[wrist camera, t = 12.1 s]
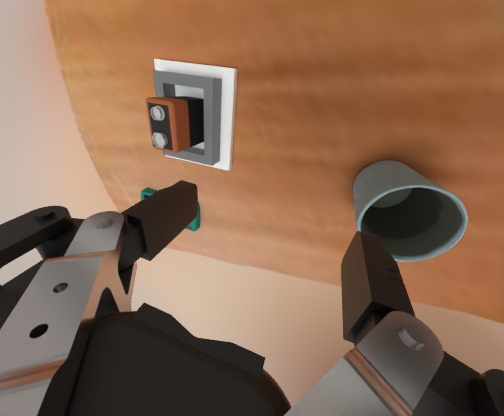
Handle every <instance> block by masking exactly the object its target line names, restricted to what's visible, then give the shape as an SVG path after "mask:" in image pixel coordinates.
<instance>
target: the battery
mask: <svg viewBox="0 0 504 416" xmlns="http://www.w3.org/2000/svg"><path fill="white" fill-rule="evenodd" d="M146 105H147V112H148V118H149V125H150V131H151V138H152V144H153V147H154V148H155V149H159V150H164V151H168V152H173V153H178V152H181V151H183V150H185V149H188V148H190V147H193V146H195V145H197V144H200V143H202V142H204V99H201V98H195V97H188V96H174V97H151V98H147V99H146Z"/></svg>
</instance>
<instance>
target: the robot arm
mask: <svg viewBox="0 0 504 416" xmlns="http://www.w3.org/2000/svg"><path fill="white" fill-rule="evenodd" d="M197 212H198V196H197V186H196V185H195V184H193V183H189V182H186V181H182V180H181V181H179V182H177V183H176V184H174V185H172V186H171V187H168V188H164V189H161V190H159V191H157V192H155V193H154V194H152V195H150V196H149V197H147V198H146V199H144V200H142V201H140V202H139V203H137V204H135V205H134V206H132V207H130V208H128V209H127V210H125V211H123V212H122V213H119V212H115V211H106V212H101V213H97V214H94V215H92V216H90V217H88V218H87V219H76V218H71V216H70V214H69V211H68V209H67V208H65V207H62V206H48V207H43V208H39V209H36V210H33V211H30V212H28V213H26V214H24V215H22V216H19V217H17V218H15V219H13V220H10V221H8V222H6V223H3V224H1V225H0V268H2V267H3V266H4V265H6V264H8V263H9V262H11V261H13V260H15V259H16V258H18V257H20V256H22V255H23V254H25V253H27V252H28V251H30V250H32V249H34V248H36V249H37V250H38V252H39V253H40V255H41V257H42V258H43V260H42V261H40V262H39V263H37V264H36V265H34V266H32V267H31V268H29V269H28V270H26V271H24V272H23V273H21V274H20V275H18V276H17V277H15V278H14V279H12V280H10V281H9V282H7V283H6V284H4V285H2V286H1V285H0V416H504V371H502V370H498V369H491V370H488V371H486V372H484V373H483V374H480V373H478V372H476V371H475V370H473V369H472V368H470V367H468V366H467V365H465V364H464V363H462V362H460V361H459V360H457V359H456V358H454V357H452V356H451V355H449V354H448V353H446V352H445V351H443V348H442V346H441V344H440V342H439V340H438V338H437V337H436V335H435V334H434V333H433V332H432V331H431V329H430V328H429V327H428V326H426V325H425V324H424V323H423V322H422V321H420V320H419V319H417V318H416V317H415V314H414V311H413V308H412V305H411V302H410V299H409V297H408V294H407V291H406V288H405V285H404V283H403V279H402V277H401V274H400V271H399V268H398V265H397V262H396V261H395V260H394V258H393V257H392V256H391V255H390V253H389V252H388V251H385V250H382V249H381V246H380V242H379V239H378V237H377V236H375V235H372V234H368V233H364V232H361V231H357V232H356V234H355V236H354V237H353V239H352V241H351V243H350V245H349V247H348V249H347V251H346V253H345V255H344V257H343V260H342V265H341V280H342V309H343V339H345V340H348V341H350V342H352V343H354V345H355V347H354V348H353V349H352V350H350V351H349V352H348V353H347V354H346V355H345V356H344V357H343V358H342V359H341V360H339V361H338V362H337V363H336V364H335V365H334V366H333V367H332V369H330V370H329V371H328V372H327V373H326V374H325V375H324V376H323V377H322V378H321V379H320V380H319V381H318V382H317V383H316V384H315V385H314V386H313V387H312V388H311V390H309V391H308V392H307V393H306V394H305V395H304V396H303V397H302V398H301V399H300V400H299V401H298V402H297V403H296V404H295V405H294V406H293V407H291V405H290V403H289V401H288V399H287V398H286V396H285V394H284V392H283V391H282V389H281V388H280V387H279V385H278V384H277V382H275V380H274V379H273V378H272V377H271V376H270V375H269V374H268V373H267V372H266V371H265V370H264V369H263V365H264V360H265V357H262V356H260V355H258V354H256V353H254V352H252V351H249V350H247V349H245V348H243V347H241V346H238V345H236V344H234V343H231V342H224V341H217V340H209V339H202V338H197V337H195V336H193V335H192V334H191V333H190V332H189V331H188V330H187V329H185V328H184V327H183V326H182V325H181V324H180V323H179V322H178V321H177V320H176V319H175V318H174V317H173V316H172V315H170V314H168V313H166V312H163V311H161V310H159V309H157V308H155V307H152V306H150V305H148V304H146V303H143V305H142V306H141V307H140V308H139V309H138V310H137V311H132V310H131V299H132V293H133V287H134V280H135V275H136V269H137V262H136V261H137V260H138V259H139V258H140V257H141V258H144V259H146V260H149V261H151V260H152V259H153V258H154V257H155V256H156V255H157V254H158V253H159V252H160V251H161V250H162V249H164V248H165V247H166V246H167V245H168V244H169V243H170V242H171V241H172V240H173V239H174V238H175V237H176V236H177V235H178V234H179V233H181V232H182V231H183V230H184V229H185V228H186V227H187V226H188V225H189V224H190V223H191V222H192V221H193V220H194V219H195V217H196V215H197Z"/></svg>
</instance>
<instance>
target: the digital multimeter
mask: <svg viewBox="0 0 504 416" xmlns="http://www.w3.org/2000/svg"><path fill="white" fill-rule="evenodd" d="M155 192H157V191H156V190H153V189H150V188H146V189H144V190H142V191H141V201H142V200H144V199H146V198H147V197H149V196H150V195H152V194H154V193H155ZM199 226H200V209H199V203H198V212H197V215H196V217H195V219H194V220H193V221H192V222H191V223H190V224H189V225H188V226H187V227H186V229H189V230H192V231H196V230H197V229H198V228H199Z"/></svg>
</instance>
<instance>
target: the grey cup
mask: <svg viewBox="0 0 504 416" xmlns="http://www.w3.org/2000/svg"><path fill="white" fill-rule="evenodd" d="M353 197H354V208H355V215H356V226H357V231H361V232H364V233H368V234H372V235H375V236H377V237H378V239H379V242H380V246H381V249H382V250H385V251H388V252H389V253H390V255H391V256H392V257H393V258H394V260H395V261H402V262H410V261H420V260H425V259H429V258H432V257H435V256H437V255H440V254H442V253H444V252H445V251H447V250H448V249H450V248H451V247H453V246H454V245H455V244H456V243H457V242H458V241H459V240H460V239H461V237H462V236H463V234H464V232H465V230H466V227H467V223H468V215H467V211H466V208H465V206H464V204H463V203H462V201H461V200H460V199H459V198H458V197H457V196H456V195H455V194H453V193H451V192H450V191H448V190H446V189H444V188H443V187H441V186H439V185H437V184H435V183H433V182H431V181H430V180H428V179H427V178H425V177H424V176H422V175H421V174H419V173H417V172H416V171H414V170H413V169H412V168H410V167H409V166H407V165H405V164H403V163H401V162H398V161H392V160H385V161H383V160H382V161H379V162H375V163H373V164H371V165H369V166H367V167H366V168H364V169H363V170H362V171H361V172H360V173H359V174H358V175H357V177H356V179H355V181H354V184H353Z"/></svg>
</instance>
